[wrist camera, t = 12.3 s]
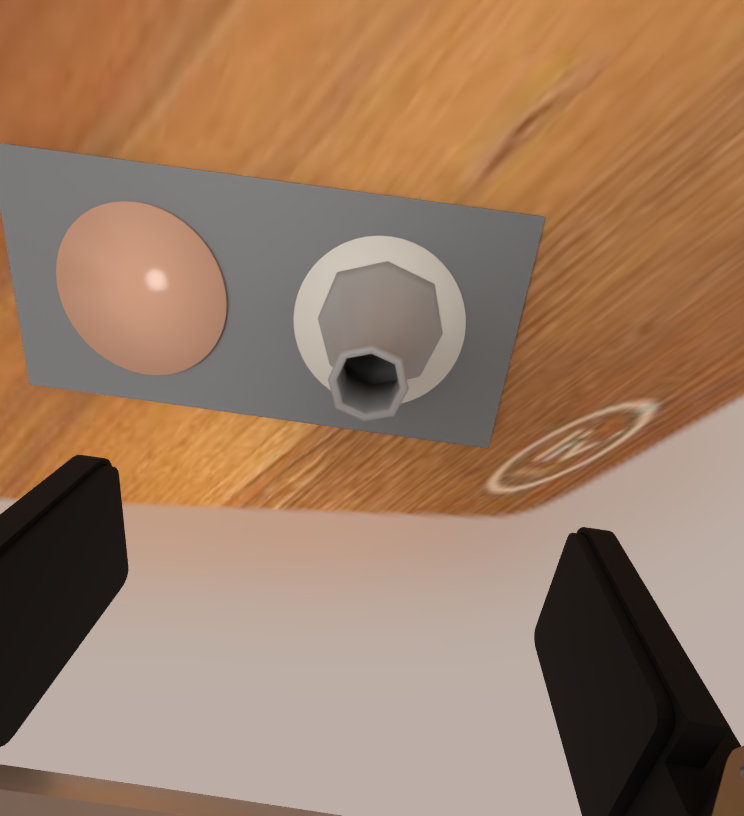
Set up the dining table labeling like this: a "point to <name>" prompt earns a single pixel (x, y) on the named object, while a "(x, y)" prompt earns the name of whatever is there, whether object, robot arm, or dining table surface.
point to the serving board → (265, 286)
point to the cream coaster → (367, 254)
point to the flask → (377, 336)
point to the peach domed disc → (141, 287)
